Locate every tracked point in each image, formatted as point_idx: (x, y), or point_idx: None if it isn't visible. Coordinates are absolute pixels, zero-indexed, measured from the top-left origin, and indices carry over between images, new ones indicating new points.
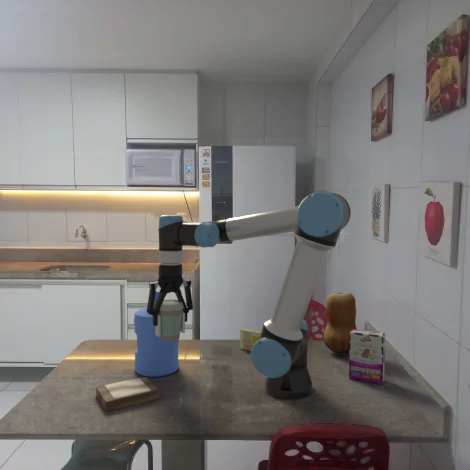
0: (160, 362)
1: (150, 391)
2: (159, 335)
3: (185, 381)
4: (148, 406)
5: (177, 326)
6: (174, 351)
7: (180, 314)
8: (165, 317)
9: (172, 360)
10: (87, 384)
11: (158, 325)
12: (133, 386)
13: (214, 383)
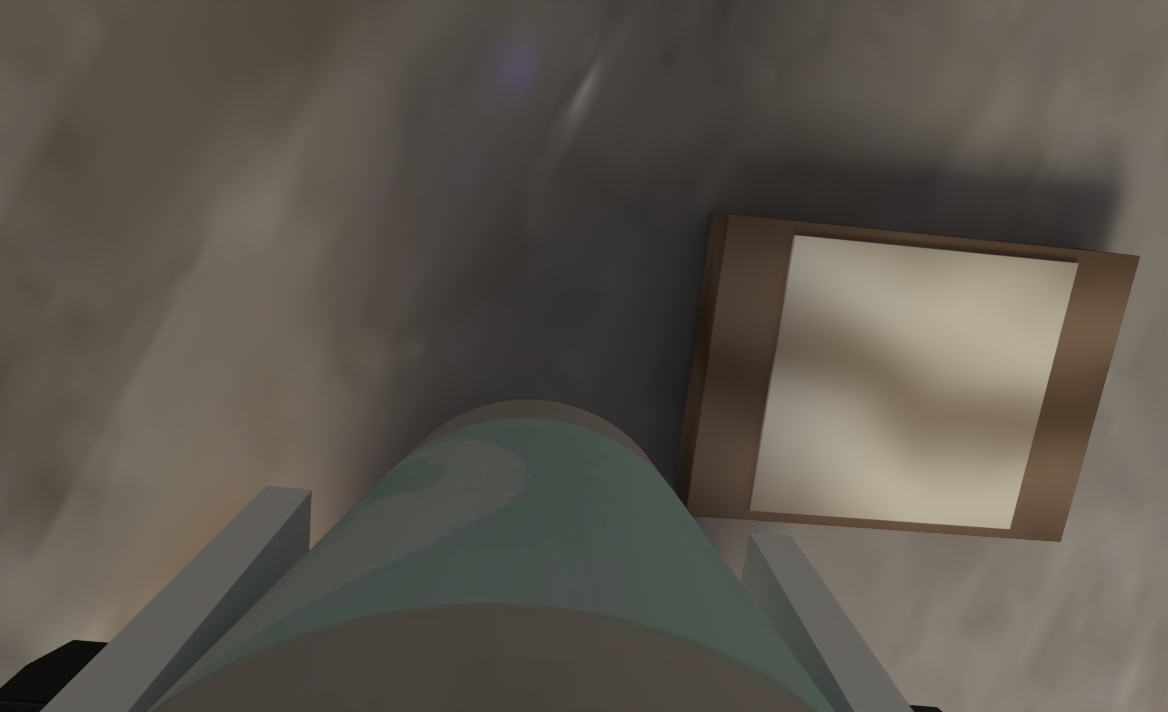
0: None
1: (799, 227)
2: (774, 543)
3: (396, 373)
4: (833, 144)
5: (448, 469)
6: None
7: (219, 673)
8: None
9: None
10: (976, 700)
11: (878, 669)
12: (862, 384)
13: (205, 199)
